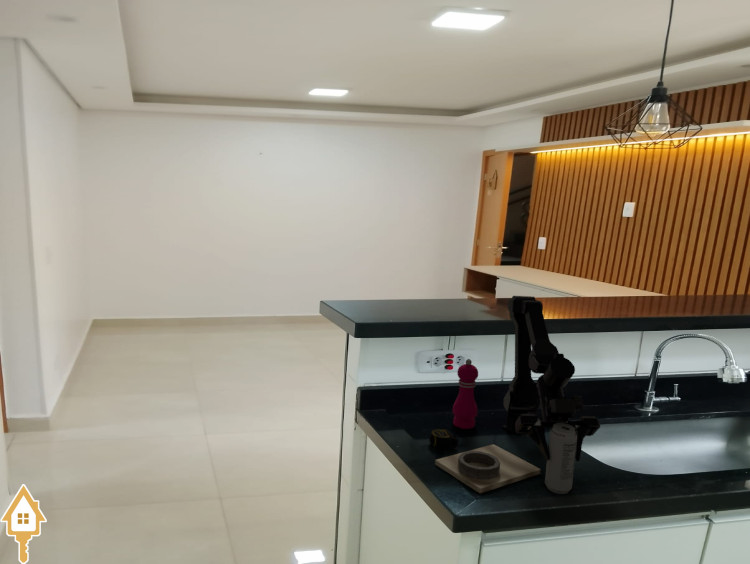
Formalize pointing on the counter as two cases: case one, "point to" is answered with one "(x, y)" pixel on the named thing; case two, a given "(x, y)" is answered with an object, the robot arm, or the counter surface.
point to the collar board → (506, 469)
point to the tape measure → (443, 439)
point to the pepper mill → (466, 397)
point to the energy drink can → (561, 458)
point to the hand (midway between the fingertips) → (563, 460)
